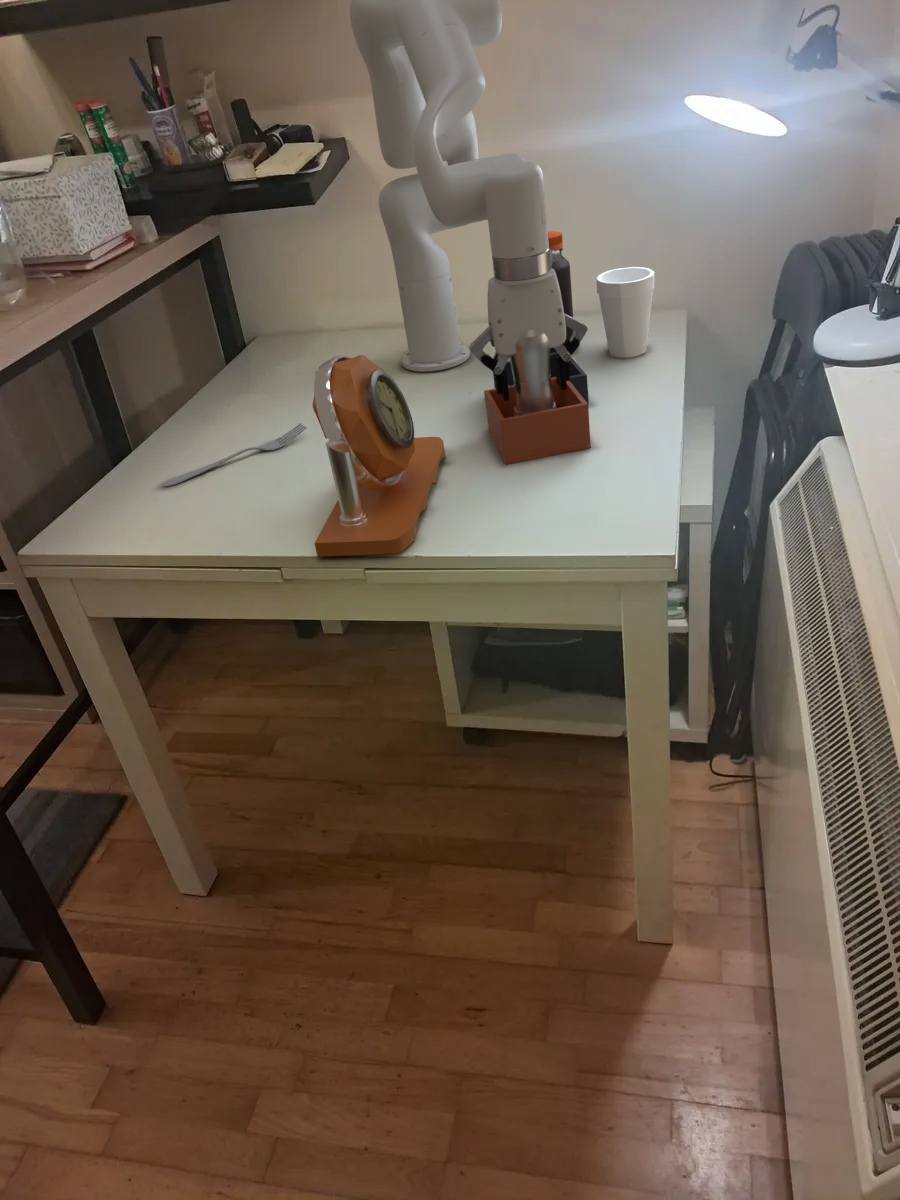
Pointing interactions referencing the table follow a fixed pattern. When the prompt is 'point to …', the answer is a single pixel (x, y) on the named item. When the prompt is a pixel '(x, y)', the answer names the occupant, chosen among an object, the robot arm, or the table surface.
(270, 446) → the fork
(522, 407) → the metal bottle
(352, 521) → the desk clock
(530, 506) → the table surface
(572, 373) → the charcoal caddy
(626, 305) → the foam cup
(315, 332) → the table surface
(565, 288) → the vinegar
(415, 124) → the robot arm
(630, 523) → the table surface
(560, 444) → the terracotta bin
